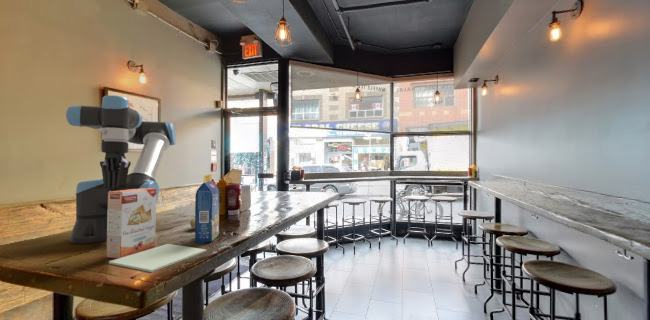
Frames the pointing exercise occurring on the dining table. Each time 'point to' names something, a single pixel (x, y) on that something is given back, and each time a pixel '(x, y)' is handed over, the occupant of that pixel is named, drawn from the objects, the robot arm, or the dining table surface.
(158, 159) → the robot arm
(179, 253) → the mat
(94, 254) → the dining table surface
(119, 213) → the cracker box
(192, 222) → the onion
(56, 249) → the dining table surface
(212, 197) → the blue food package
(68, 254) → the dining table surface
